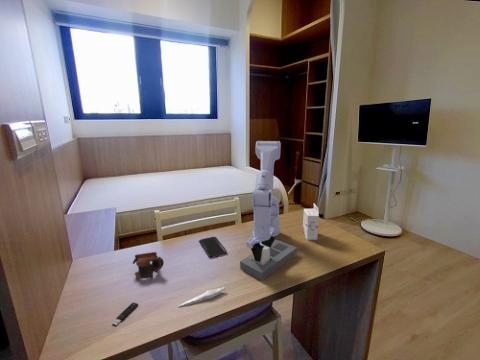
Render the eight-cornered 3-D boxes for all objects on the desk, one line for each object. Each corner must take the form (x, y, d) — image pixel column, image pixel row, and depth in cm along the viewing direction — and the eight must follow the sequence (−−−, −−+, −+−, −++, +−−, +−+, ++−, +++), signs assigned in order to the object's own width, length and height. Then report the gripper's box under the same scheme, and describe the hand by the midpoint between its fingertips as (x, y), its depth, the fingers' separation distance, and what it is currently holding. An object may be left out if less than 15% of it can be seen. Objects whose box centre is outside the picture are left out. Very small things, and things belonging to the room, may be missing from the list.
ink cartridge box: (301, 231, 116) (303, 202, 112) (312, 231, 116) (314, 202, 112) (306, 240, 108) (308, 208, 104) (317, 240, 108) (320, 208, 104)
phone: (215, 236, 111) (227, 252, 97) (215, 238, 111) (227, 254, 98) (198, 239, 107) (208, 256, 94) (198, 242, 108) (208, 259, 94)
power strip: (275, 245, 103) (276, 239, 102) (296, 254, 96) (296, 247, 96) (240, 268, 88) (240, 261, 87) (261, 280, 81) (262, 272, 80)
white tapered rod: (223, 288, 78) (223, 283, 77) (227, 294, 75) (226, 289, 75) (176, 306, 72) (176, 301, 71) (178, 312, 69) (177, 307, 69)
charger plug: (259, 257, 91) (260, 243, 90) (269, 262, 88) (269, 247, 87) (252, 262, 88) (252, 248, 87) (262, 267, 85) (262, 252, 84)
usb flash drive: (117, 327, 64) (116, 324, 64) (111, 325, 65) (111, 322, 64) (138, 306, 71) (138, 303, 71) (133, 304, 72) (132, 301, 72)
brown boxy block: (126, 281, 82) (126, 255, 85) (145, 276, 91) (144, 254, 93) (157, 277, 80) (156, 251, 82) (173, 273, 88) (171, 249, 91)
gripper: (264, 214, 92) (264, 246, 95) (239, 226, 82) (240, 262, 85) (280, 218, 88) (279, 252, 91) (256, 232, 77) (256, 270, 80)
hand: (261, 257), depth 88 cm, fingers closed on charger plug, 4 cm apart
